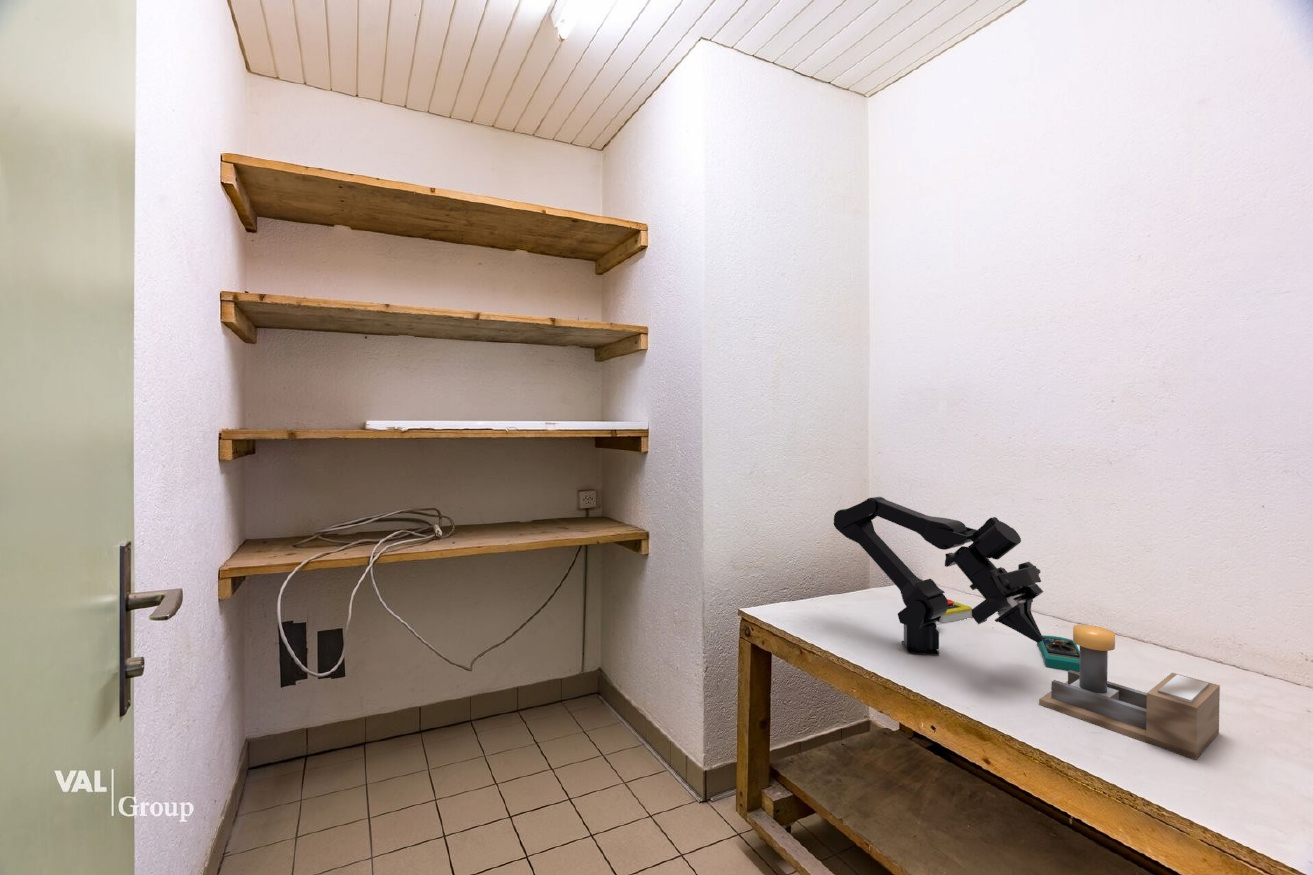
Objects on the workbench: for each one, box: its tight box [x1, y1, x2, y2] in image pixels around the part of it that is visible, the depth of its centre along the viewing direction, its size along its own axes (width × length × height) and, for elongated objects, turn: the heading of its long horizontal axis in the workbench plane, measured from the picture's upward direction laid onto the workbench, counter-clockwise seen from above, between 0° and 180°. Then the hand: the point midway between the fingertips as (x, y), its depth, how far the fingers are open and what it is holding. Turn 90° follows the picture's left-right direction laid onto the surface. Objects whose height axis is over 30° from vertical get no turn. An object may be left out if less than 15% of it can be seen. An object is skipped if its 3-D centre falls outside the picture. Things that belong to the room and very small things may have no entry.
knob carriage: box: [1070, 624, 1119, 700], centre depth 104 cm, size 6×6×13 cm
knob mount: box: [1038, 670, 1221, 761], centre depth 100 cm, size 21×13×8 cm, turn 35°
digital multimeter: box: [1036, 634, 1080, 672], centre depth 126 cm, size 7×15×3 cm, turn 153°
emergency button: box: [936, 598, 974, 626], centre depth 154 cm, size 9×4×15 cm
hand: (1040, 641), depth 111 cm, fingers closed
